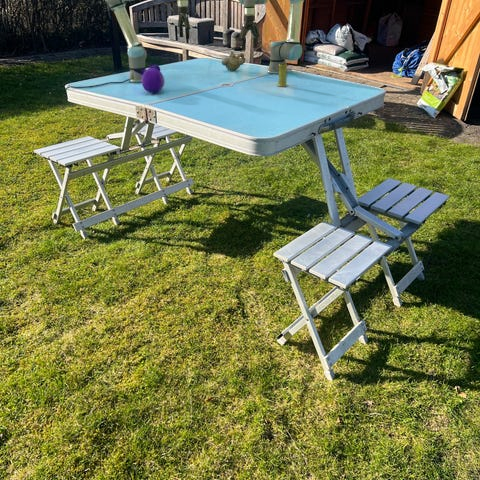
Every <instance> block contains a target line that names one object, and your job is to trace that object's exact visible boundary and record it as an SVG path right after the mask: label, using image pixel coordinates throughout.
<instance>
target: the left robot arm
mask: <svg viewBox="0 0 480 480" xmlns="http://www.w3.org/2000/svg"><path fill="white" fill-rule="evenodd" d="M104 1H105V3H107V4H108V7H109V9H110V10H111V11H113V13H114V15H115V17H116V20H117V22H118V24H119V27H120V29H121V31H122V34H123V36H124V39H125V41H126V44H127V46H126V48H127V56H128V66H129V76H128V79H125V80H123V81H109V82H104V83H100V84H95V85H87V86H86V85H85V86H71V85H70V86H67V87H66V88H65V91H67V90H68V89H70V87H71V88H72V89H84V88H86V89H87V88H95V87H100V86H104V85H105V86H106V85H108V84H109V85H110V84H123V83H126V82H129V83H133V84H142V76H143V75H141V74H139V73H137V72H135V71H134V70H147V67H146V60H147V58H148V52H147V50H146V49H145V48H144V45H143V43H142V42H141V40H139V38H138V35H137V33H136V31H135V29H134V26H133V24H132V21H131V19H130V16H129V14H128V11H127V9H126V2H131V1H134V0H104ZM176 3H177V12H178V21H177V27H178V33H179V38H184V33H185V40H190V29H191V25H190V20H189V14H188V13H189V7H188V6H189V1H188V0H176ZM183 25H184V26H183Z"/></svg>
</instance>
